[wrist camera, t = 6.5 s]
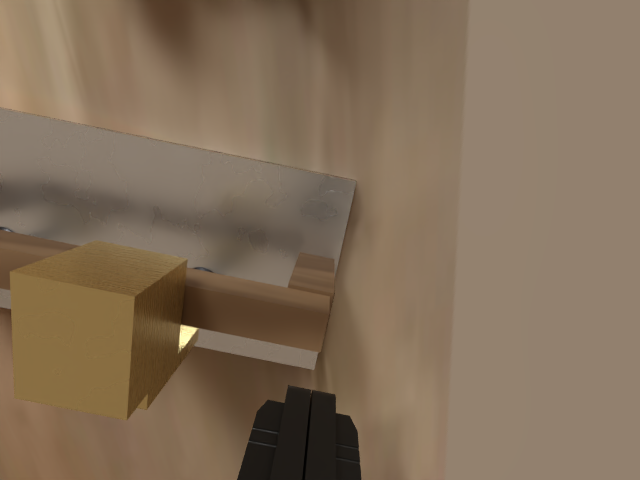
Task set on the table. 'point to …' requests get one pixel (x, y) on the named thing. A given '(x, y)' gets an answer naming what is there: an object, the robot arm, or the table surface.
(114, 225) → the bolt plate
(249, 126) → the table surface
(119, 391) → the sliding head
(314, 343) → the bar
